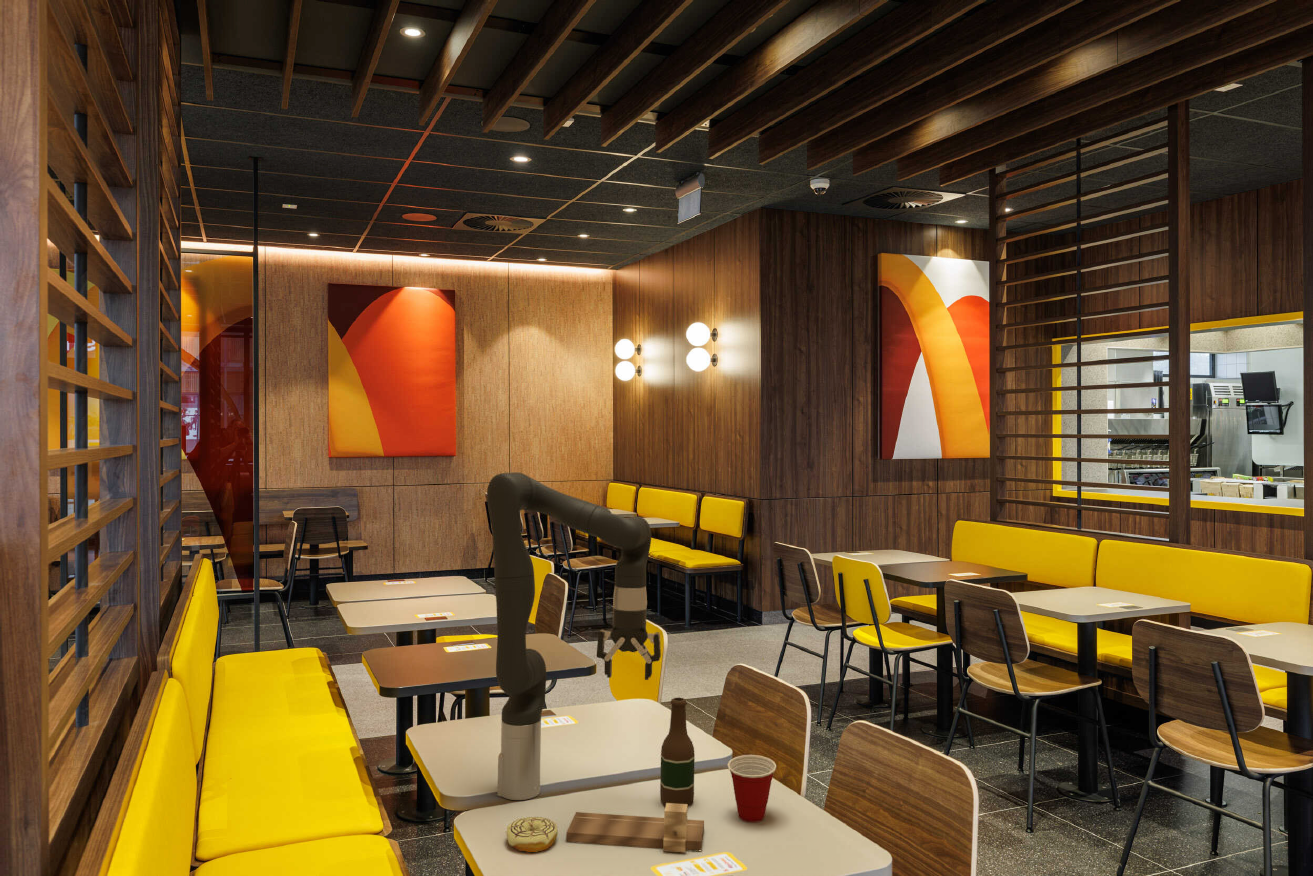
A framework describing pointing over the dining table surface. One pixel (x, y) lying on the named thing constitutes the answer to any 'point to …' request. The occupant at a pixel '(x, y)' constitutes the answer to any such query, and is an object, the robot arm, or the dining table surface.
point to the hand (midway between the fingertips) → (628, 678)
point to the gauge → (675, 827)
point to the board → (628, 830)
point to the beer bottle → (677, 759)
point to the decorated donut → (532, 834)
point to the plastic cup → (751, 785)
